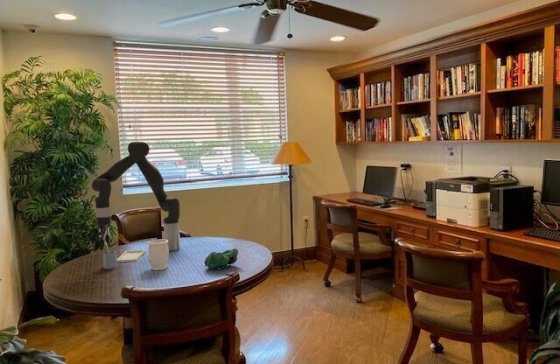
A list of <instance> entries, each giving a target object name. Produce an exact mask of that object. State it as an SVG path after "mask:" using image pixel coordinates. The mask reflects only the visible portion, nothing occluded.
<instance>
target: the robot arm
mask: <svg viewBox="0 0 560 364" xmlns="http://www.w3.org/2000/svg"><path fill="white" fill-rule="evenodd" d="M127 151H128V155H127V156H126V157H124V158H122V159H121V160H119V161H117V162H116V163H114V164H113V165H112V166H111V167H110V168H108V169H107V171H105V172H103V173H101V174H100V175H98V176H97V177H95V179H93V181H92V182H91V189H92V190H93V191H94V192H98V196H96V198H95V224H96V225H97V226H99V228H97V230H96V231H97V232H96V233H97V240H98V241H99V248H103V247H104V246H105V243H104V238H105V240H106V243H107V244H110V241H111V240H110V236H111V235H112V232H111V224H112V214H111V213H112V212H111V206H110V205H111V202H110V198H111V193H112V183H113V182H116V181H117V180H118V179H119V178H120V177H121V176H123V174H125V173H126V171H128V170H129V169H130V168H132V167H133V166H134V165H135V164H136V166H137V167H138V168H139V170H140V172H141V174H142V175H143V177H144V179H145V181H146V183H147V184H148V186H149V188H150V190H151V191H152V193H153V194H154V196H155V198H156V202H158V205H159V207H160V209H161V210H162V211H163V212H167V213H168V215H167V216H166V217H164V218H163V235H164V238H163V239H165V240H168V243H167V245H168V249H169V252H170V251H171V250H172V251H179V250H180V249H181V234H180V225H179V224H180V223H179V219H180V215H181V214H180V213H181V212H180V210H181V209H180V207H181V206H180V200H179V199H178V198H177V197H170V196H168V195H167V194H166V191H165V189H164V188H165V187H164V186H165V183H164V178H163V176H162V174H161V172H160V170H159V169H158V168H157V167H156V166H155V165H154V164H152V163H151V162H150V161H149V160H148V159H147V158H146V157H147V156H148V155H149V153H150V145H149V144H148V143H147V142H145V141H131V142H130V143H129V144H128V146H127ZM172 251H171V252H172Z"/></svg>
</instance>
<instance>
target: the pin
mask: <svg viewBox="0 0 560 364" xmlns="http://www.w3.org/2000/svg"><path fill="white" fill-rule="evenodd" d="M104 243H105V246H104V247H102V249H103V253H104V252H105V253H106V254H110V251H111V250H110V249H109V246H108V243H106V240H105V238H104Z"/></svg>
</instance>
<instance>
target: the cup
mask: <svg viewBox="0 0 560 364" xmlns="http://www.w3.org/2000/svg"><path fill="white" fill-rule="evenodd" d="M109 251H110V254H106V253H105V252H104V251H103V253H102V263H103V264H102V265H103V269H105V270H109V269H110V270H111V269H115V268H116V269H117V267H118V262H117V259H118V252H117V251H116V250H109Z"/></svg>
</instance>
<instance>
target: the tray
mask: <svg viewBox="0 0 560 364" xmlns="http://www.w3.org/2000/svg"><path fill="white" fill-rule="evenodd" d="M145 254H147V251H146V249H135V250H132V249H131V250H125V251H124V252H123V253H122V254H121V255H120V256H119V257H117V263H131V262H132V263H133V262H138V261H139V260H140V258H142V257H144V255H145Z"/></svg>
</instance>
